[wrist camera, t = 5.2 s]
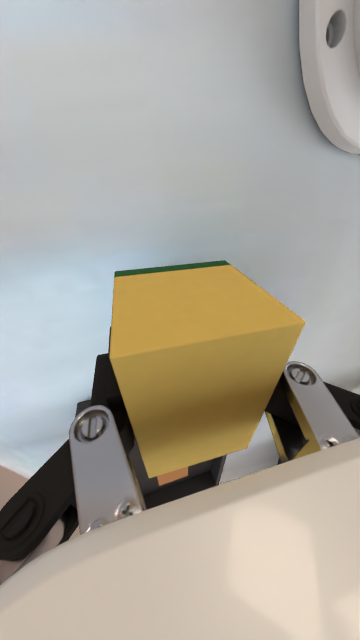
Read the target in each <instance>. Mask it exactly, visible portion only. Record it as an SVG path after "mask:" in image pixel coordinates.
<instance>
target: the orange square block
mask: <svg viewBox="0 0 360 640" xmlns="http://www.w3.org/2000/svg"><path fill="white" fill-rule="evenodd" d="M185 476H188V467H184V468H181V469H178V470H175V471H172V472H168V473H165V474H162V475H159V476H157V479H158V483H159V486H161V485H163V484H166V483H169V482H172V481H174V480H177V479H180V478H183V477H185Z"/></svg>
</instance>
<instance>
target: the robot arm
mask: <svg viewBox="0 0 360 640" xmlns="http://www.w3.org/2000/svg"><path fill="white" fill-rule="evenodd" d="M299 48H300V56H301V65H302V73H303V81H304V86H305V90H306V94H307V97H308V101H309V105H310V108H311V112H312V114H313V116H314V118H315V120H316V122H317V124H318V126H319V128H320V130H321V132H322V133H323V134H324V135H325V136H326V137H327V138H328V139H329V141H330V142H331V143H332V144H333V145H334V146H336V147H338V148H340V149H342V150H344V151H346V152H348V153H354V154H360V0H299ZM110 340H111V327H110V337H109V351H108V353H107V354H102V355H98V356H97V359H96V366H95V374H94V382H93V389H92V397H91V404H90V407H89V408H87V409H85V410H83V411H82V412H81V413H80V414H79V415H78V416H76V418H75V419H74V421H73V422H72V424H71V427H70V429H69V439H68V440H67V441H66V442H65V443H64V444H63V445H62V446H61V447H60V448H59V450H58V451H57V452H56V453H55V454H54V455H53V456H52V457H51V458H50V459H49V460H48V461H47V462H46V463H45V464H44V465H43V466H42V467H41V468H40V469H39V470H38V471H37V472H36V473H35V474H34V475H33V476H32V477H31V478H30V479H29V480H28V481H27V482H26V483H25V484H24V486H23V487H22V488H21V489H20V490H19V491H18V492H17V493H16V494H15V495H14V496H13V497H12V498H11V499H10V500H9V501H8V502H7V503H6V505H5V506H4V507H3V508H2V509H1V511H0V640H360V395H358V394H355V393H353V392H350V391H347V390H344V389H342V388H339V387H336V386H334V385H331V384H328V383H325V382H323V381H322V379H321V378H320V376H319V375H318V374H317V372H316V371H315V370H314V369H312V368H311V367H310V366H308V365H306V364H304V363H301V362H296V361H291V362H287V364H286V366H285V368H284V370H283V372H282V374H281V376H280V379H279V381H278V383H277V385H276V387H275V389H274V391H273V394H272V396H271V398H270V400H269V402H268V404H267V406H266V408H265V413H266V417H267V420H268V423H269V426H270V429H271V432H272V435H273V438H274V441H275V444H276V447H277V450H278V453H279V456H280V460H281V463H282V464H279V465H276V466H273V467H270V468H267V469H264V470H262V471H259V472H256V473H253V474H250V475H247V476H244V477H241V478H238V479H235V480H232V481H229V482H226V483H223V484H220V485H217V486H215V487H212V488H209V489H206V490H203V491H200V492H197V493H194V494H191V495H189V496H186V497H183V498H180V499H177V500H174V501H171V502H168V503H165V504H162V505H160V506H157V507H154V508H151V509H148V510H147V508H146V505H145V502H144V499H143V496H142V493H141V490H140V487H139V484H138V480H137V477H136V474H135V471H134V468H133V465H132V462H131V459H130V456H129V453H130V451H131V450H132V448H133V447H134V440H136V437H135V434H134V431H133V428H132V425H131V422H130V419H129V416H128V413H127V410H126V407H125V404H124V401H123V398H122V395H121V391H120V388H119V385H118V382H117V379H116V376H115V373H114V370H113V367H112V364H111V361H110V358H109V357H110ZM78 525H79V529H80V536H77V537H75V538H73V539H70V540H69V538H70V536H71V535H72V534H73V532H74V531H75V530H76V528H77V527H78Z"/></svg>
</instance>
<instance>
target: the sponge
mask: <svg viewBox="0 0 360 640" xmlns="http://www.w3.org/2000/svg"><path fill="white" fill-rule="evenodd" d="M304 325H305V321H304V320H303V319H302V318H300V317H299V316H298V315H296V314H295V313H294V312H292V311H291V310H290V309H289V308H287V307H286V306H285V305H283V304H282V303H281V302H279V301H278V300H277V299H275V298H274V297H273V296H271V295H270V294H269V293H267V292H266V291H265V290H263V289H262V288H261V287H260V286H258V285H257V284H256V283H254V282H253V281H252V280H250V279H249V278H248V277H246V276H245V275H244V274H242V273H241V272H240V271H238V270H237V269H236V268H235V267H233V266H232V265H230V264H229V263H228V262H226V261H215V262H205V263H195V264H185V265H175V266H165V267H155V268H145V269H135V270H125V271H116V272H115V276H114V291H113V307H112V324H111V340H110V357H109V358H110V361H111V364H112V367H113V370H114V373H115V376H116V379H117V382H118V385H119V388H120V391H121V395H122V398H123V401H124V404H125V407H126V410H127V413H128V416H129V419H130V422H131V425H132V428H133V431H134V434H135V437H136V440H137V443H138V447H139V450H140V453H141V456H142V459H143V462H144V465H145V468H146V471H147V474H148V477H149V478H152V477H155V476H159V475H162V474H165V473H168V472H172V471H175V470H178V469H181V468H184V467H188V466H191V465H194V464H197V463H201V462H204V461H207V460H210V459H214V458H217V457H220V456H223V455H226V454H230V453H233V452H236V451H239V450H243V449H246V448H247V447H248V445H249V443H250V441H251V438H252V436H253V434H254V432H255V430H256V428H257V426H258V423H259V421H260V419H261V417H262V415H263V413H264V411H265V408H266V406H267V404H268V402H269V400H270V398H271V396H272V394H273V391H274V389H275V387H276V385H277V383H278V381H279V379H280V376H281V374H282V372H283V370H284V368H285V366H286V364H287V361H288V359H289V357H290V355H291V353H292V351H293V349H294V346H295V344H296V342H297V340H298V338H299V336H300V334H301V331H302V329H303V327H304Z"/></svg>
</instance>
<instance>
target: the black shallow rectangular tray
mask: <svg viewBox="0 0 360 640" xmlns="http://www.w3.org/2000/svg"><path fill="white" fill-rule="evenodd" d="M90 404H91V400H89V401H85V402H81V403H78V404H77V410H76V416H78V415H79V414H80V413H81V412H82V411H83V410H85V409H87V408H89V407H90ZM76 416H75V418H76ZM226 455H227V454H226ZM226 455H223V456H220V457H217V458H214V459H210V460H207V461H204V462H201V463H197V464H194V465H191V466H188V476H185V477H183V478H180V479H177V480H174V481H172V482H169V483H166V484H163V485H161V486H159V483H158V479H157V476H155V477H152V478H149V477H148V474H147V471H146V468H145V465H144V462H143V459H142V456H141V453H140V450H139V447H138V443H137V440H134V447H133V448H132V450H131V451H130V453H129V456H130V459H131V462H132V465H133V468H134V471H135V474H136V477H137V480H138V484H139V487H140V490H141V493H142V496H143V499H144V502H145V505H146V508H147V510H148V509H151V508H154V507H157V506H160V505H162V504H165V503H168V502H171V501H174V500H177V499H180V498H183V497H186V496H189V495H191V494H194V493H197V492H200V491H203V490H206V489H209V488H212V487H215V486H217V485H219V482H220V478H221V474H222V471H223V467H224V463H225V459H226Z"/></svg>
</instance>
